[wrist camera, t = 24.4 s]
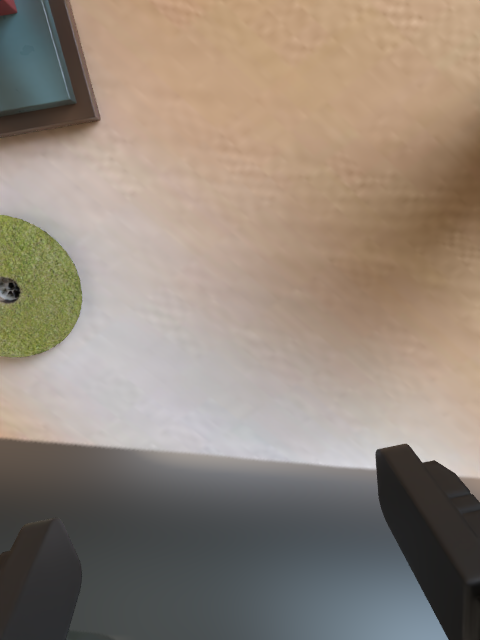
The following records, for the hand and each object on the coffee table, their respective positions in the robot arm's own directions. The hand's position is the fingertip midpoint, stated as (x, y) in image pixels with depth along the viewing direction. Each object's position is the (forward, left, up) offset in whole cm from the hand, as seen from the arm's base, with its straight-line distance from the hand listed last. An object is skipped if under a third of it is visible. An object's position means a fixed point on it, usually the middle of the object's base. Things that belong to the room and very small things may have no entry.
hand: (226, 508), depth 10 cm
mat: (+15, -2, -26) cm, 30 cm away
